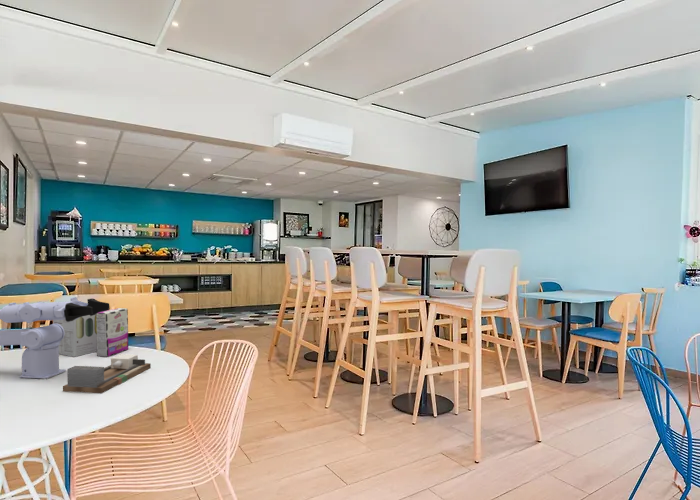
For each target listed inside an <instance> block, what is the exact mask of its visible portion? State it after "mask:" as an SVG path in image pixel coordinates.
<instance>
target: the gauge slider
mask: <svg viewBox="0 0 700 500" xmlns="http://www.w3.org/2000/svg"><path fill="white" fill-rule="evenodd" d="M138 356H139V355H138V354H126V353H125V354H124V353H123V354H120V353H119V354H117V355H116V356H114V357H111V358H110V365H111V368H115V369H116V368H118V369H128V368H130V367H132V366H134V365H145V363H146V359H140V358H139V357H138Z"/></svg>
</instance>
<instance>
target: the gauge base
mask: <svg viewBox="0 0 700 500" xmlns="http://www.w3.org/2000/svg"><path fill="white" fill-rule="evenodd" d="M151 366H152V365H151V362H150V363H146V362H145V365H134V366H132V367H130V368H128V369H118V368H116V369H115V368H111V364H110V365H107V366H105V367H104V384H103V385H101V386H99V387H97V388H92V387H71V386H68V383H67V384H64V385H63V386H62V392H68V393H69V392H70V393H89V394H90V393H91V394H92V393H94V394H103V393H105V392H107V391H109V390H111V389H113V388H115V387H117V386H119V385H121V384H123V383H125V382H127V381H128V380H130V379H133V378H134V377H136V376H137V375H140V374H142V373H144V372H145V371H147V370H149V369H151Z"/></svg>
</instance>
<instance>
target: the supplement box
mask: <svg viewBox="0 0 700 500" xmlns="http://www.w3.org/2000/svg"><path fill="white" fill-rule="evenodd" d="M55 323H56V324H59V325H61V326H62V327H63V329H64V332H65V334H64V338H63V339H62V340H61V341H60V345H59V355H62V356H63V355H64V356H68V357H73V358H77V357H80V356H84V355H85V356H86V355H88V354H92V353H96V352H97V326H96V314H95V315H93V316H90V315H87V316H83V317H80V318H79V319H76V320H73V321H70V322H67V321H66V320H52V324H55Z"/></svg>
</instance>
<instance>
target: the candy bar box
mask: <svg viewBox="0 0 700 500" xmlns="http://www.w3.org/2000/svg"><path fill="white" fill-rule="evenodd" d="M128 311H129V309H128V308H124V307H122V308H121V307H118V308H113V309H112V308H111V309H110V310H107V311H103V312H99V313H97V314H96V326H97V357H102V358H105V357H106V358H109V357H112V356H115V355H118V354H120V353H122V352H126V351H128V350H129V315H128V314H129V312H128Z"/></svg>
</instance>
